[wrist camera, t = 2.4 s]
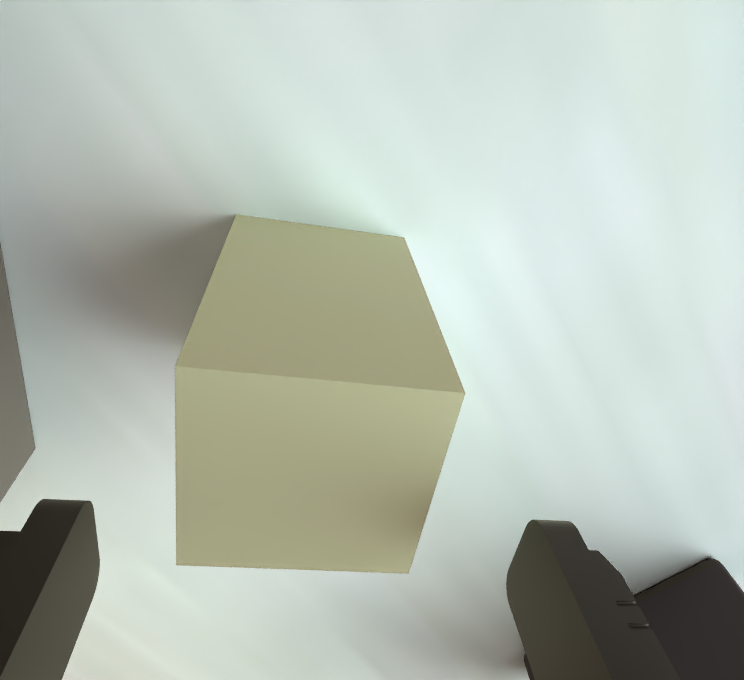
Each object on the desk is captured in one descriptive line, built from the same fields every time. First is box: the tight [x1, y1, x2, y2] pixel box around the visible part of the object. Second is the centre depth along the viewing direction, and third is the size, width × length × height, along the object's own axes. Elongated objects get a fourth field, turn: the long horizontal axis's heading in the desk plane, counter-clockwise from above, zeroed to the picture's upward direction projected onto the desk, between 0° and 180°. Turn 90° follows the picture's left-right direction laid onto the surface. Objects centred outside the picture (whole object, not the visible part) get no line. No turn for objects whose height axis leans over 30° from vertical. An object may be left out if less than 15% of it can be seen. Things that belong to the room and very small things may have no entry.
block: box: [175, 215, 465, 573], centre depth 14 cm, size 5×5×8 cm
